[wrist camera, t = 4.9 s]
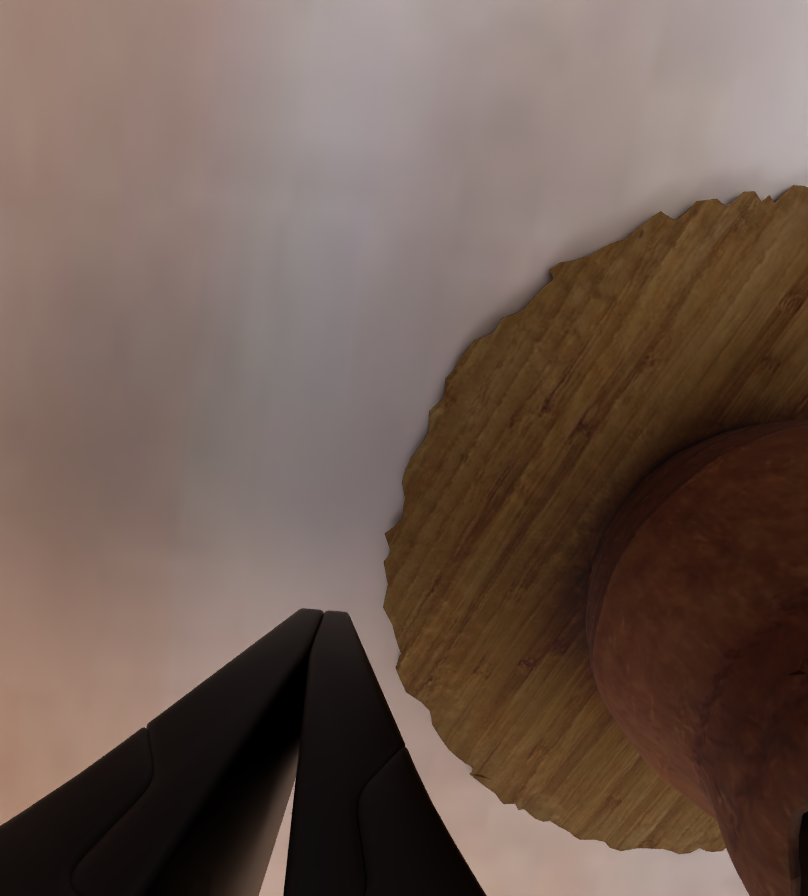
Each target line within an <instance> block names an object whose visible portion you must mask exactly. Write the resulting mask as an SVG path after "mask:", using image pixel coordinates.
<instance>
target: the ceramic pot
mask: <svg viewBox="0 0 808 896" xmlns="http://www.w3.org/2000/svg"><path fill="white" fill-rule="evenodd" d="M550 272H551V275H552V277H553V280H552V281H551V282H549V283H548V284H547V285H546V286H545V287H543V288H542V289H541V290H540V292H539V293H538V294H537V295H536V296H535V297H534V298H533V299H532V300H531V301H530V303H529V304H528V305H527V306H526V307H525V308H524V309H523V311H520V312H517V313H515V314H512V315H510V316H507V317H504V318H502V320H501V321H500V323H499V325H498V326H497V328H496V329H495V331H494V332H493V333H491V334H489V335H487V336H485V337H482V338H480V339H478V340H476V341H474V342H473V343H472V344H471V345H470V347H469V348H468V349H467V350H466V352H465V353H464V354H463V355H462V357H461V358H460V359H459V361H458V363H457V364H456V366H455V368H454V370H453V371H452V372H451V373H450V375H449V376H448V377H447V378H446V382H445V391H444V396H443V399H442V400H441V401H440V402H439V403H438V404H437V405H436V406H434V407H433V408H432V409H431V410H430V411H429V432H428V434H427V435H426V437H425V439H424V441H423V443H422V445H421V446H420V447H419V449H418V450H417V451H416V453H415V454H414V455H413V456H412V458H411V459H410V461H409V463H408V465H407V467H406V469H405V473H404V477H403V480H402V484H403V490H404V495H405V501H404V508H403V515H402V520H401V521H400V522H399V523H398V524H397V525H396V526H394V527H393V528H392V529H390V530H389V531H388V532H386V533H385V536H386V539H387V542H388V544H389V547H390V550H391V554H390V555H389V556H388V557H387V559H386V560H385V561H384V566H385V571H386V577H387V582H388V587H387V591H386V596H385V601H384V606H383V608H384V610H385V612H386V614H387V615H388V617H389V619H390V621H391V623H392V625H393V629H394V633H395V636H396V640H397V643H398V646H399V649H400V652H401V655H400V657H399V660H398V663H397V665H396V670H397V672H398V675H399V677H400V680H401V682H402V684H403V686H404V688H405V691H406V692H407V693H408V694H410V695H411V696H413V697H414V698H416V699H417V700H419V701H420V702H422V703H423V704H424V705H425V706H426V707H427V708H428V709H429V710H430V712H431V719H432V725H433V726H434V728H435V730H436V731H437V733H438V735H439V736H440V738H441V739H442V741H443V742H444V743H445V745H446V746H447V748H448V749H449V750H450V751H451V752H452V753H453V754H454V755H456V756H457V757H458V758H459V759H461V760H462V761H463V762H464V763H466V764H468V765H470V766H472V767H475V768H474V769H473V770H472V772H471V773H470V775H471V776H473V777H474V778H475V779H476V780H478V781H479V782H480V783H481V784H483V785H484V786H485V787H487V788H488V789H490V790H491V791H492V792H494V793H495V794H496V795H497V797H498V798H499V799H500V801H501V802H502V803H503V804H516V806H517V808H518V810H521V809H525V810H526V811H527V812H528V813H529V814H530V815H531V816H533V817H534V818H535V819H538V820H540V821H543V822H544V821H552V822H553V823H555V824H556V825H558V826H559V827H561V828H563V829H565V830H567V831H569V832H570V833H571V834H572V835H573V836H575V837H576V838H578V839H581V840H598V841H603V842H605V843H606V844H607V845H608V846H609V847H610V848H613V849H616V850H619V851H624V850H630V849H635V848H651V849H665V850H669V851H673V852H675V853H678V854H685V853H691V852H693V851H695V850H697V849H699V848H701V849H703V850H705V851H710V852H716V851H723V850H724V849H725V848H727V851H728V853H729V856H730V858H731V860H732V862H733V865H734V867H735V869H736V871H737V873H738V875H739V877H740V878H741V880H742V882H743V884H744V886H745V888H746V890H747V891H748V893H749V895H750V896H808V187H806V186H795V185H793V186H792V187H791V188H790V189H788V190H787V191H786V192H785V193H784V194H783V195H782V196H781V197H780V198H779V199H778V200H777V201H776V202H775V203H774V202H773V200H772V199H771V197H770V195H769V196H768V197H767V198H766V199H764V200H763V201H762V202H761V200H760V199H759V197H758V196H757V194H756V193H755V191H750V192H743V193H742V194H741V195H740V196H739V197H738V198H737V199H736V200H735V201H733V202H732V203H730V204H729V205H727V206H726V207H725V206H724V205H723V204H722V203H721V202H720V201H719V200H717V199H711V200H703V201H697V202H696V203H695V204H694V205H693V206H692V207H691V208H690V209H689V210H688V211H687V212H686V213H685V214H683V215H682V216H681V217H679V218H678V219H677V220H673V219H672V218H670V217H669V216H667V215H666V214H664V213H663V212H661V211H660V212H659V213H658V214H656V215H655V216H653V217H652V218H651V219H649V220H648V221H647V222H645V223H644V224H642V225H641V226H640V227H639V228H637V229H636V230H635V231H634V232H633V233H632V234H631V235H630V236H629V237H628V238H626V239H624V240H621V241H618V242H615V243H612V244H610V245H608V246H606V247H604V248H602V249H600V250H598V251H596V252H594V253H592V254H590V255H589V256H585V257H582V258H579V259H576V260H573V261H569V262H561V263H559V264H558V265H556V266H555V267H553V268H552V269H550Z"/></svg>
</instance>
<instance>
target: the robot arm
mask: <svg viewBox="0 0 808 896" xmlns="http://www.w3.org/2000/svg"><path fill="white" fill-rule="evenodd" d="M295 778H296V782H295V791H294V801H293V810H292V820H291V829H290V838H289V848H288V857H287V867H286V876H285V886H284V895H283V896H486V894H485V893H484V891H483V889H482V888H481V886H480V884H479V883H478V881H477V879H476V878H475V876H474V874H473V873H472V871H471V869H470V868H469V866H468V864H467V863H466V861H465V859H464V858H463V856H462V854H461V853H460V851H459V849H458V848H457V846H456V844H455V843H454V841H453V839H452V837H451V835H450V834H449V832H448V830H447V828H446V827H445V825H444V823H443V821H442V819H441V818H440V816H439V814H438V812H437V811H436V809H435V807H434V805H433V803H432V801H431V799H430V797H429V795H428V793H427V791H426V789H425V787H424V785H423V783H422V780H421V778H420V776H419V774H418V772H417V770H416V768H415V765H414V763H413V761H412V758H411V756H410V754H409V751H408V749H407V748H406V747H405V743H404V741H403V738H402V736H401V734H400V731H399V729H398V727H397V724H396V722H395V720H394V718H393V715H392V713H391V711H390V708H389V706H388V704H387V701H386V699H385V697H384V694H383V692H382V690H381V688H380V685H379V683H378V681H377V678H376V676H375V674H374V671H373V669H372V667H371V664H370V662H369V660H368V657H367V655H366V653H365V651H364V648H363V646H362V644H361V641H360V639H359V637H358V634H357V632H356V630H355V627H354V625H353V623H352V621H351V618H350V616H349V614H348V613H347V612H341V611H326V612H325V613H323V611H322V610H316V609H304V608H302V609H300V610H298V611H297V612H295V613H294V614H293V615H291V616H290V617H289V618H287V619H286V620H285V621H283V622H282V623H281V624H279V625H278V626H277V627H275V628H274V629H273V630H271V631H270V632H269V633H267V634H266V635H265V636H263V637H262V638H261V639H259V640H258V641H257V642H255V643H254V644H253V645H252V646H250V647H249V648H248V649H246V650H245V651H244V652H242V653H241V654H240V655H238V656H237V657H236V658H234V659H233V660H232V661H230V662H229V663H228V664H226V665H225V666H224V667H222V668H221V669H220V670H218V671H217V672H216V673H214V674H213V675H212V676H210V677H209V678H208V679H206V680H205V681H204V682H202V683H201V684H200V685H198V686H197V687H196V688H194V689H193V690H192V691H190V692H189V693H188V694H186V695H185V696H184V697H182V698H181V699H180V700H178V701H177V702H176V703H175V704H173V705H172V706H171V707H169V708H168V709H167V710H165V711H164V712H163V713H161V714H160V715H159V716H157V717H156V718H155V719H153V720H152V721H151V722H149V723H148V724H147V729H146V728H145V727H143V728H141V729H140V730H138V731H137V732H136V733H134V734H133V735H132V736H130V737H129V738H128V739H126V740H125V741H124V742H122V743H121V744H120V745H118V746H117V747H116V748H114V749H113V750H111V751H110V752H109V753H107V754H106V755H105V756H103V757H102V758H100V759H99V760H98V761H96V762H95V763H93V764H92V765H91V766H89V767H88V768H86V769H85V770H84V771H82V772H81V773H80V774H78V775H77V776H75V777H74V778H72V779H71V780H69V781H68V782H66V783H65V784H63V785H62V786H60V787H59V788H57V789H56V790H54V791H53V792H51V793H50V794H48V795H47V796H45V797H44V798H42V799H41V800H39V801H38V802H36V803H35V804H33V805H32V806H30V807H29V808H27V809H26V810H24V811H23V812H21V813H20V814H18V815H17V816H15V817H13V818H12V819H10V820H9V821H7V822H6V823H4V824H3V825H1V826H0V896H259V892H260V889H261V886H262V883H263V880H264V877H265V873H266V870H267V867H268V864H269V861H270V857H271V854H272V851H273V848H274V845H275V841H276V838H277V835H278V832H279V829H280V826H281V822H282V819H283V816H284V813H285V810H286V806H287V803H288V800H289V797H290V794H291V790H292V787H293V784H294V781H295Z"/></svg>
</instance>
